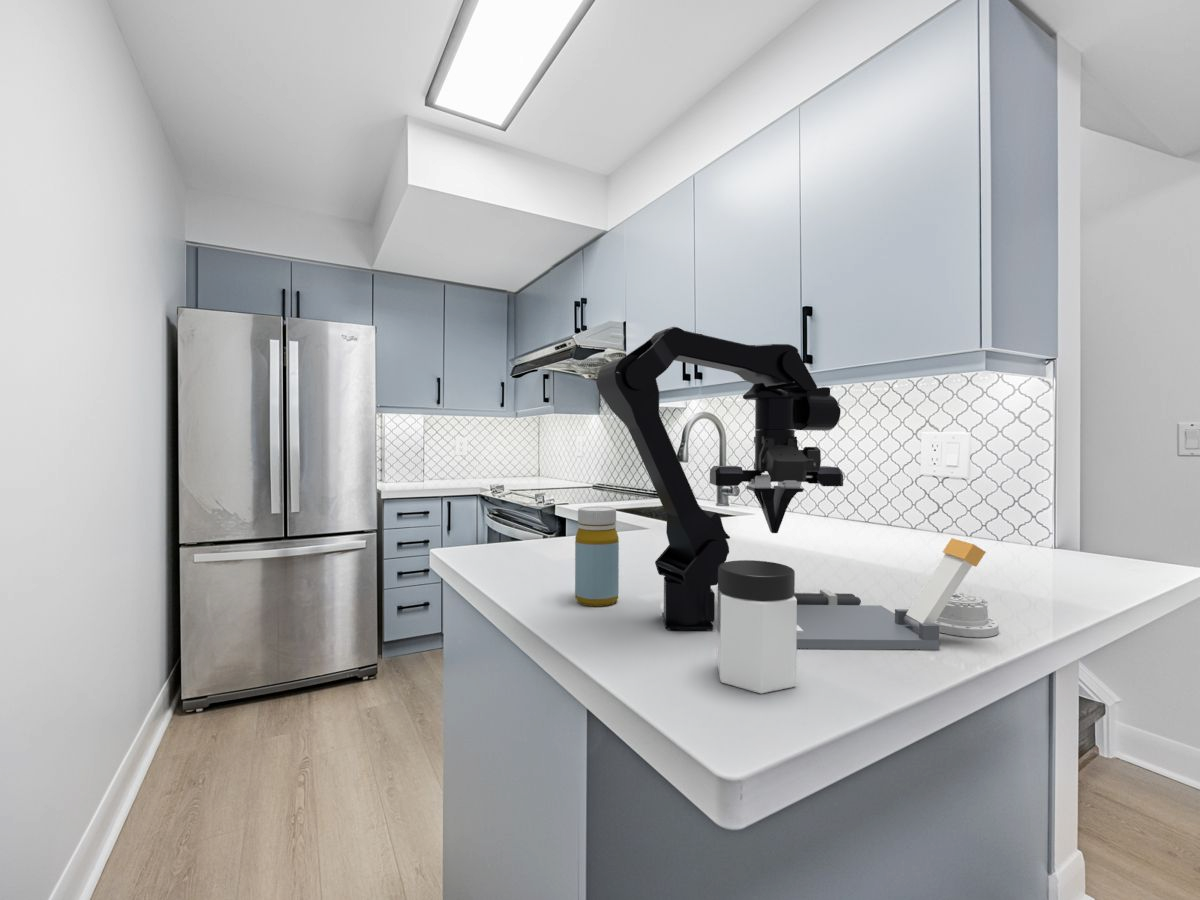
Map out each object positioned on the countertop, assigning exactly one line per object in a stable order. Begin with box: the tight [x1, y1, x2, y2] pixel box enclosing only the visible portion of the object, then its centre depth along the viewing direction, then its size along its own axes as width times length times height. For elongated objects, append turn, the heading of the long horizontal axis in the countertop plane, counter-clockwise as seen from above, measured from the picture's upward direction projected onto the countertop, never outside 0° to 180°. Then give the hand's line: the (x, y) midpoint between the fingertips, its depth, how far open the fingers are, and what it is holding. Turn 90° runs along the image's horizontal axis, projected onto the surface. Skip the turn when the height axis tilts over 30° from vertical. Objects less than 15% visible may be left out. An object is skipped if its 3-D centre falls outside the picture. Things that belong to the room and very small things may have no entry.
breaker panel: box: [796, 604, 941, 651], centre depth 77 cm, size 21×15×3 cm
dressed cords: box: [794, 588, 862, 605], centre depth 90 cm, size 19×4×2 cm, turn 89°
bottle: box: [574, 506, 620, 607], centre depth 91 cm, size 7×7×15 cm
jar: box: [716, 559, 797, 694], centre depth 62 cm, size 9×8×12 cm
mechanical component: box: [935, 591, 999, 638], centre depth 79 cm, size 10×4×10 cm
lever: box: [904, 538, 987, 631], centre depth 73 cm, size 2×5×13 cm
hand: (774, 532), depth 85 cm, fingers closed
